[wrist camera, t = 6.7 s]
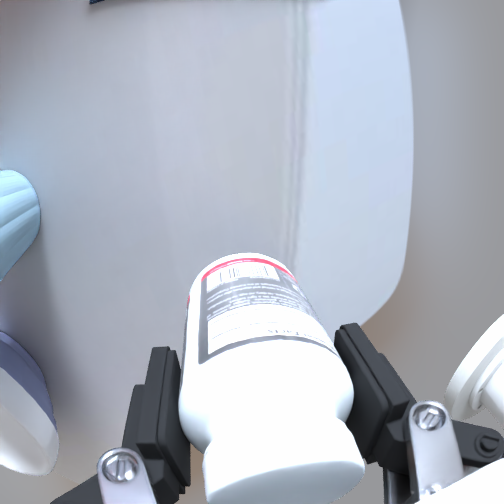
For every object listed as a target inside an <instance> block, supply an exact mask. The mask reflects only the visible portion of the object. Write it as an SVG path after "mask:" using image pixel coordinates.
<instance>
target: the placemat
mask: <svg viewBox="0 0 504 504" xmlns="http://www.w3.org/2000/svg"><path fill="white" fill-rule="evenodd" d="M100 1H104V0H90V4H93V3H97V2H100Z"/></svg>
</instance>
